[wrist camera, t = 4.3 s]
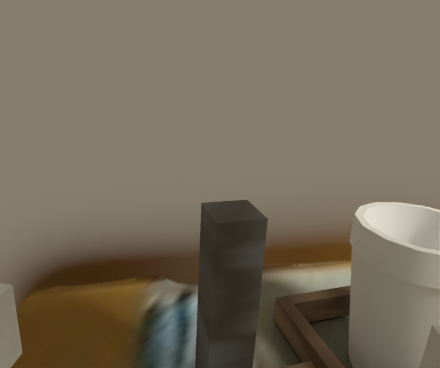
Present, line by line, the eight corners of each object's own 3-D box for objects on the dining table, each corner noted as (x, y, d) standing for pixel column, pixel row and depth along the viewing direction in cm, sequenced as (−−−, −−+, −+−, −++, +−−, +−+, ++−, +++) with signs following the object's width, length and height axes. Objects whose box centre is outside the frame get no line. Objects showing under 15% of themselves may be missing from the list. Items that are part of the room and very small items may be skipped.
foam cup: (453, 443, 23) (514, 275, 19) (317, 378, 28) (344, 231, 24) (449, 352, 31) (492, 220, 27) (344, 313, 36) (367, 194, 32)
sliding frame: (392, 297, 38) (423, 165, 33) (541, 418, 25) (627, 229, 20) (179, 337, 31) (182, 175, 26) (234, 535, 18) (260, 285, 13)
